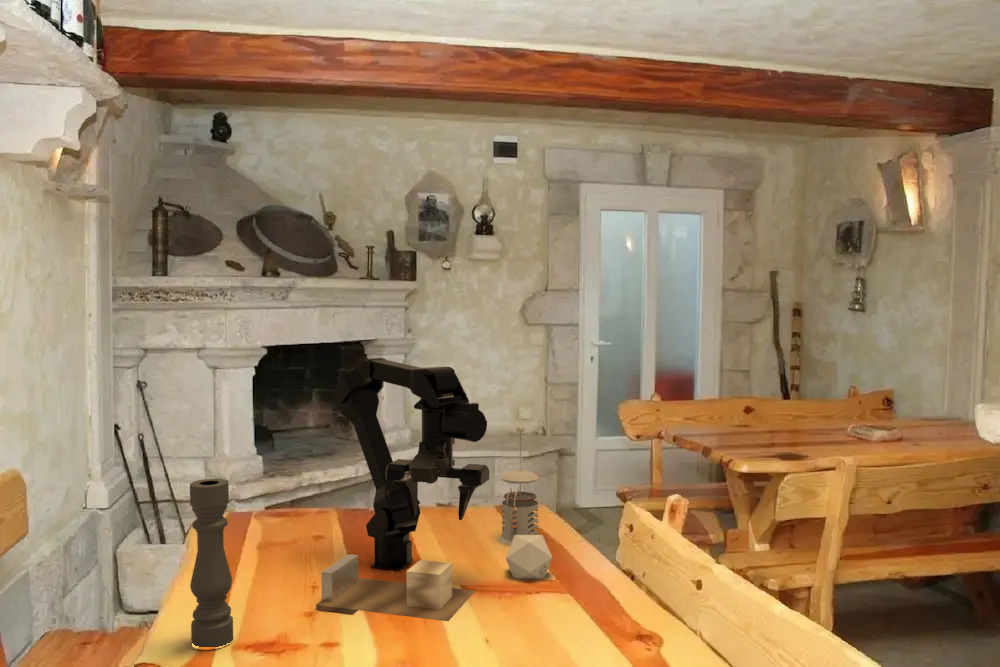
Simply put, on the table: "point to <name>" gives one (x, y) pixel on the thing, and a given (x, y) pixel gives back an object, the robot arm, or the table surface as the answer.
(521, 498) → the french press
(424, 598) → the cube
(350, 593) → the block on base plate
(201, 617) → the candle holder
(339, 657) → the table surface
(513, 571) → the die
